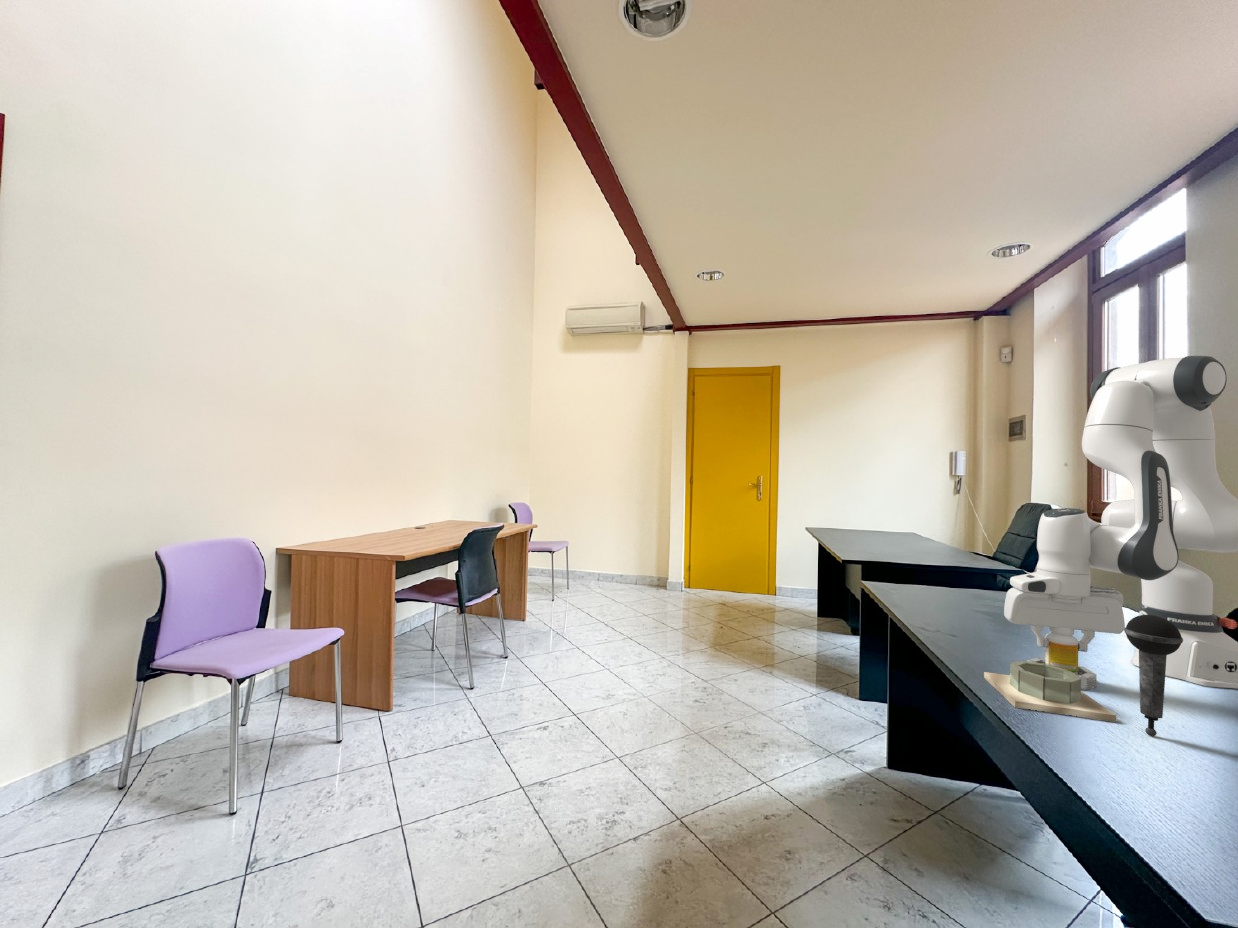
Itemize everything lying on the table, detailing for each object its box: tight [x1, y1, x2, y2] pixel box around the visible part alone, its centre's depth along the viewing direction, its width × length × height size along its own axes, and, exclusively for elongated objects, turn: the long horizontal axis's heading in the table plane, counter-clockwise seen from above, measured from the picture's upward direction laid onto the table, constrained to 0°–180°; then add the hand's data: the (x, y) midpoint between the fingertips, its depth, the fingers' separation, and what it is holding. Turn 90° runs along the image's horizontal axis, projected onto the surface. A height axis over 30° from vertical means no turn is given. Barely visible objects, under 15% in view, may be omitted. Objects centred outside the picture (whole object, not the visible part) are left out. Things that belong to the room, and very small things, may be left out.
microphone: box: [1123, 615, 1183, 737], centre depth 86 cm, size 7×7×20 cm
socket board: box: [983, 660, 1117, 723], centre depth 100 cm, size 15×15×5 cm
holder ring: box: [1026, 657, 1097, 691], centre depth 110 cm, size 10×10×2 cm
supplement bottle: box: [1044, 627, 1079, 675], centre depth 110 cm, size 5×5×10 cm
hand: (1061, 648), depth 110 cm, fingers closed on supplement bottle, 5 cm apart
